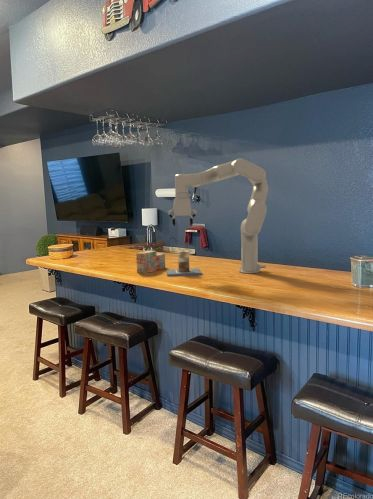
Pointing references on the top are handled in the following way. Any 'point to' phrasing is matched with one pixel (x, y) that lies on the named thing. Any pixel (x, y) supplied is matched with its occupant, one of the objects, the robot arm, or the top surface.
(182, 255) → the maple cube
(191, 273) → the board
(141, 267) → the stack of blocks
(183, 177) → the robot arm
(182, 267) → the walnut cube
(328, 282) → the top surface
